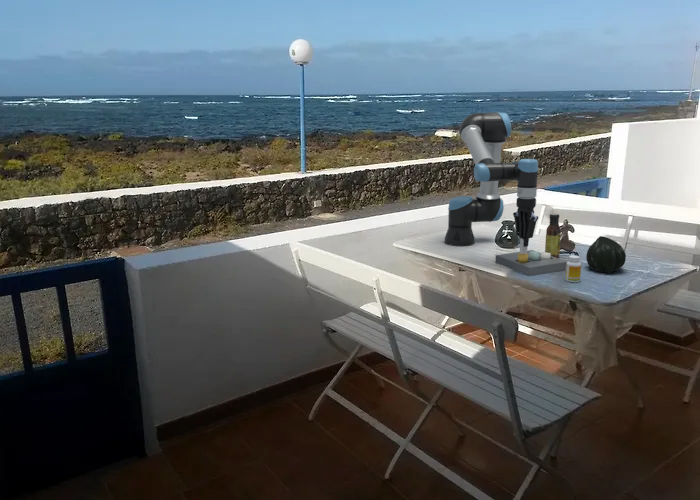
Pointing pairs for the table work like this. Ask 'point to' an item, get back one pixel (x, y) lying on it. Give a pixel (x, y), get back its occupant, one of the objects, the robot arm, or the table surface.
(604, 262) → the squash
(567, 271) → the supplement bottle
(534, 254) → the teal button
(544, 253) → the ivory button
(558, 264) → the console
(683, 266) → the table surface
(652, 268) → the table surface
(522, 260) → the amber button
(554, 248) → the sauce bottle
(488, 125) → the robot arm
